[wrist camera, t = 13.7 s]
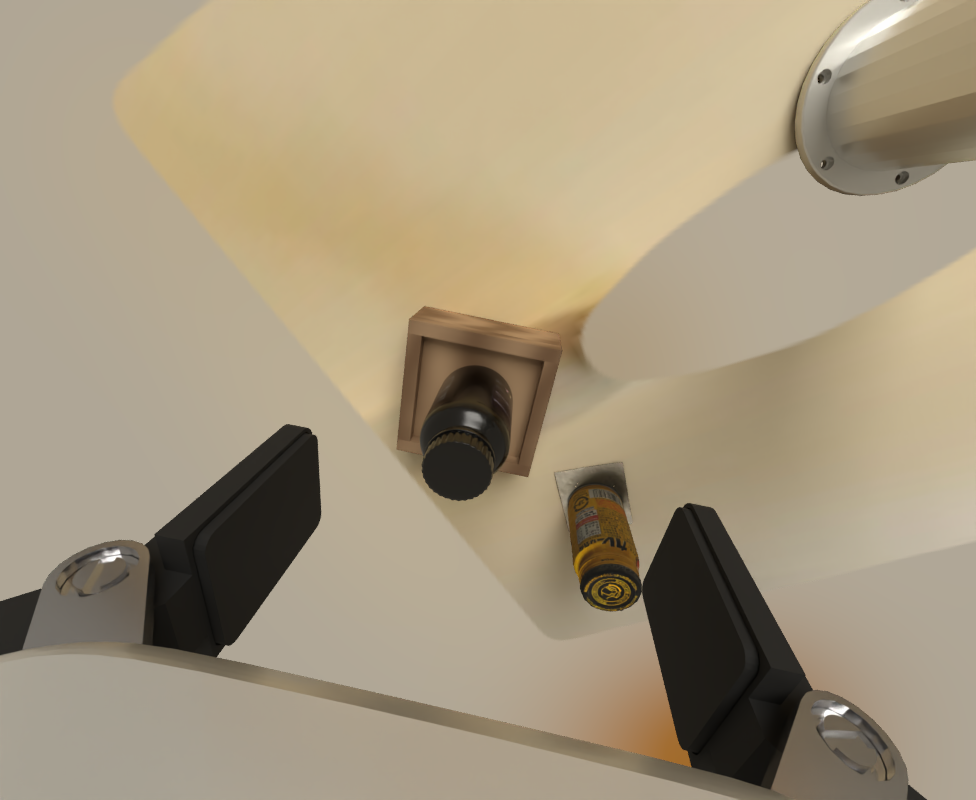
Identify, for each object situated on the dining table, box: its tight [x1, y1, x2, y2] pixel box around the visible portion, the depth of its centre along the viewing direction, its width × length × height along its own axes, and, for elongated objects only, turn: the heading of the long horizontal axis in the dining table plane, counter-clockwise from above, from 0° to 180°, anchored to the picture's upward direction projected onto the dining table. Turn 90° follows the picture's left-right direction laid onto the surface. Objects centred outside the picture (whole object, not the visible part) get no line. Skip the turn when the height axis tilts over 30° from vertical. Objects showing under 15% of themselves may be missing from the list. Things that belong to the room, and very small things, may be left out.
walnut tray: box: [397, 306, 562, 477], centre depth 39 cm, size 13×13×5 cm
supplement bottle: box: [420, 365, 513, 501], centre depth 32 cm, size 7×7×12 cm
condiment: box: [555, 463, 642, 611], centre depth 40 cm, size 7×8×12 cm
